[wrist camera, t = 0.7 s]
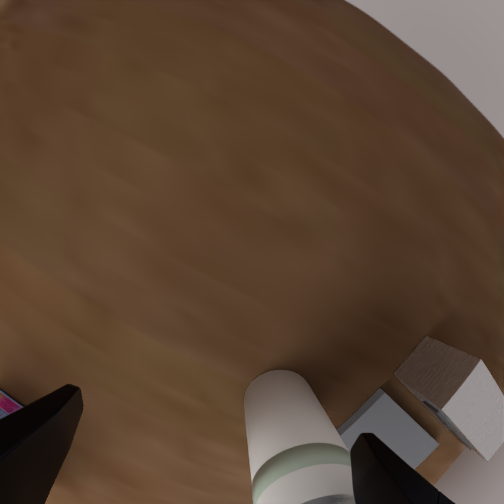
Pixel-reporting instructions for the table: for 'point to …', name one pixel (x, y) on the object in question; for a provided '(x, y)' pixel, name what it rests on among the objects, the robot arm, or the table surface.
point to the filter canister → (293, 444)
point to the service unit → (456, 394)
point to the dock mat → (389, 429)
